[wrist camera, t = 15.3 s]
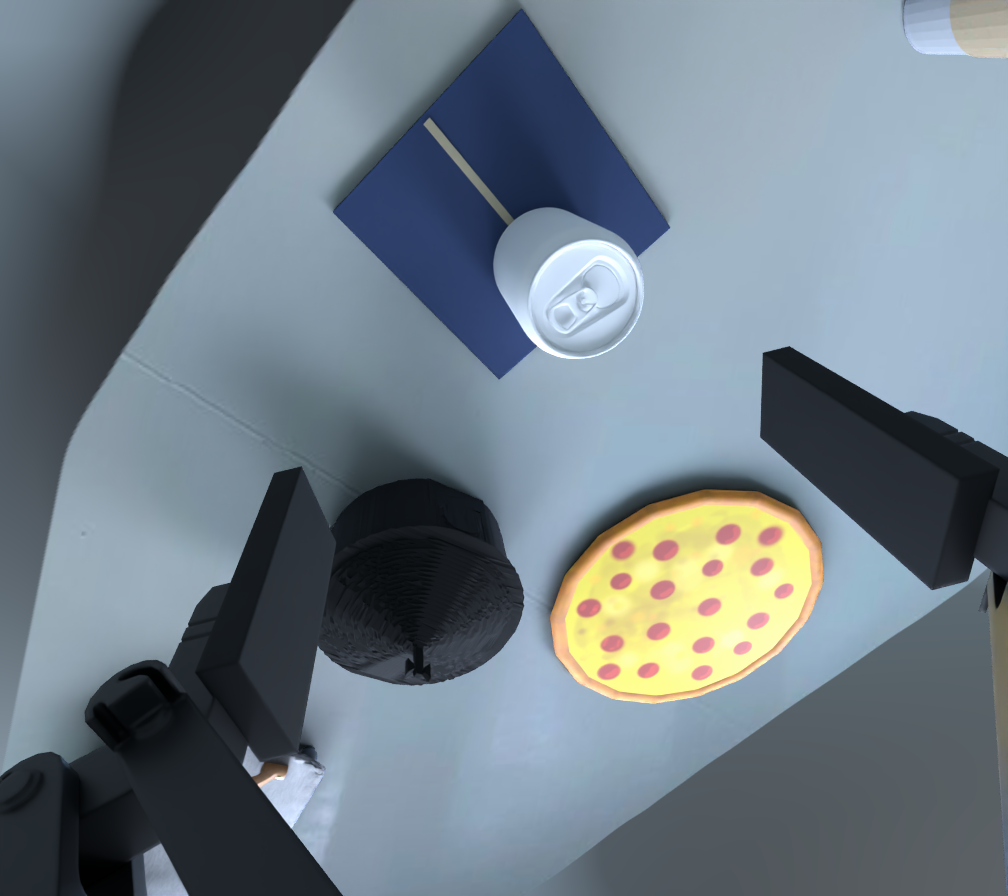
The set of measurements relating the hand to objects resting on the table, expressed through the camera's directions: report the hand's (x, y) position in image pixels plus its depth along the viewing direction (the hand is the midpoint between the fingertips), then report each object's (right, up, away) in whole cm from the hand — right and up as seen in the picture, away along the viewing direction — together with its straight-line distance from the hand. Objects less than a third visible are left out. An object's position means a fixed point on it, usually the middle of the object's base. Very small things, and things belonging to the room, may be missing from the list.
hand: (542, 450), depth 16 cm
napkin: (-1, +17, +27) cm, 32 cm away
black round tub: (-10, -10, +41) cm, 43 cm away
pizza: (+20, -18, +50) cm, 56 cm away
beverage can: (+2, +15, +29) cm, 32 cm away
